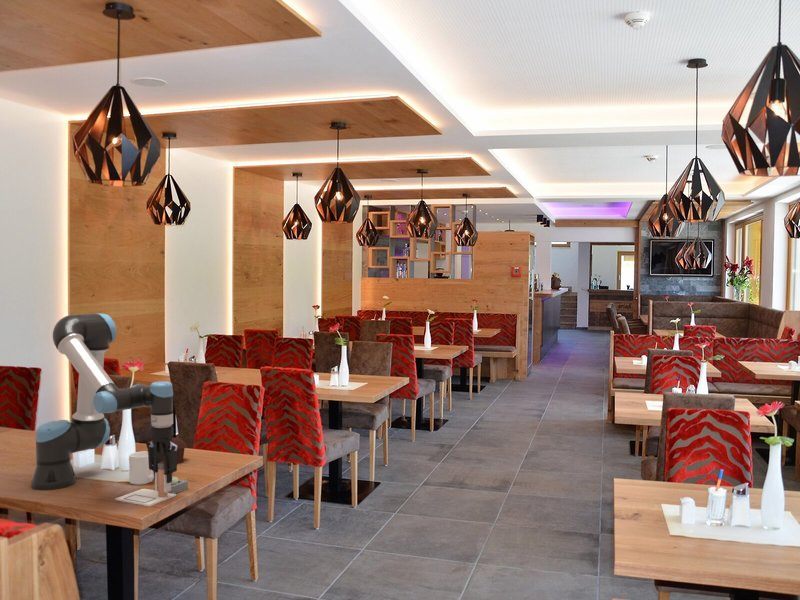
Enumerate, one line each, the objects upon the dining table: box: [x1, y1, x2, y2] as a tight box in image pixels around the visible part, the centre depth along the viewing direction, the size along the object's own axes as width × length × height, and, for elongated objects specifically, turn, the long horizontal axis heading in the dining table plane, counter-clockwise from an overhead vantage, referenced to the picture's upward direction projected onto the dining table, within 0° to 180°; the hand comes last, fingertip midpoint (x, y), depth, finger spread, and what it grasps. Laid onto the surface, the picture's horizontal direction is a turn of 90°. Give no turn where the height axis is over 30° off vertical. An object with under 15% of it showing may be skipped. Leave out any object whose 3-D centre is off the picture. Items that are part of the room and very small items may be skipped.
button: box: [171, 476, 179, 485], centre depth 260 cm, size 4×4×3 cm
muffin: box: [161, 437, 187, 465], centre depth 300 cm, size 12×11×10 cm
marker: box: [158, 462, 168, 497], centre depth 252 cm, size 3×3×12 cm
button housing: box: [168, 479, 189, 495], centre depth 260 cm, size 8×8×3 cm
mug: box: [128, 450, 154, 486], centre depth 271 cm, size 9×12×11 cm
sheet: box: [115, 488, 177, 507], centre depth 252 cm, size 16×13×1 cm
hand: (163, 490), depth 252 cm, fingers open, 3 cm apart
